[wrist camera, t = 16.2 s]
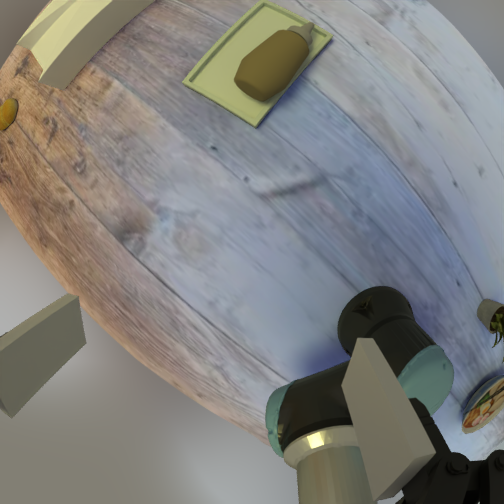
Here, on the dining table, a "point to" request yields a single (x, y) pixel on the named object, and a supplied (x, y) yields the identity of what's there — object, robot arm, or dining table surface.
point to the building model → (75, 34)
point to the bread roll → (8, 113)
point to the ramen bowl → (484, 405)
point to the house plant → (492, 317)
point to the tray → (236, 48)
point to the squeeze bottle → (274, 62)
